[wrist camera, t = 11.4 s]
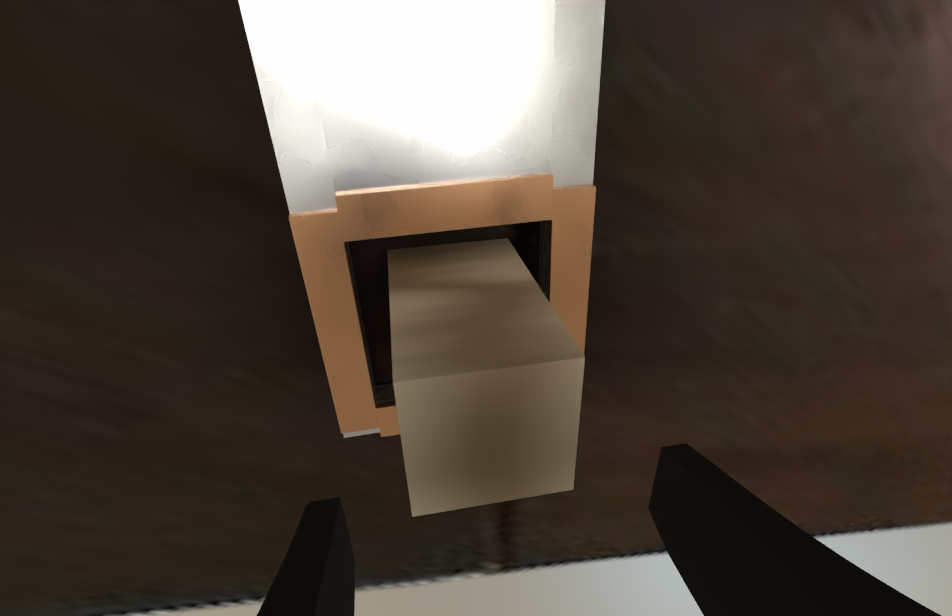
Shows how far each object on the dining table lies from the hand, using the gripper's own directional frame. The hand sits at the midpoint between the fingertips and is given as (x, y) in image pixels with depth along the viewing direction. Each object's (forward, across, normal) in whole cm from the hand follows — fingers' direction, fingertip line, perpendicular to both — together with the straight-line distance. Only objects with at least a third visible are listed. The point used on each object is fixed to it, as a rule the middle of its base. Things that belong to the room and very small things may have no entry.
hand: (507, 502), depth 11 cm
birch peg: (+10, 0, 0) cm, 10 cm away
